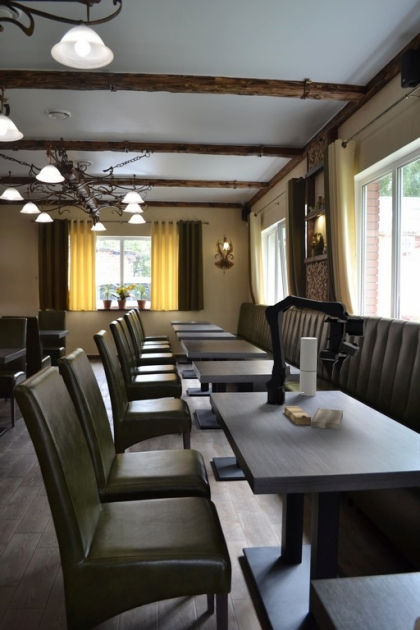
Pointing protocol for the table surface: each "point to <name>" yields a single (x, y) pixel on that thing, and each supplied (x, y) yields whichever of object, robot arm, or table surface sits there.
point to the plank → (297, 415)
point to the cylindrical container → (308, 366)
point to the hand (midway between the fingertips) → (334, 375)
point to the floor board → (327, 418)
